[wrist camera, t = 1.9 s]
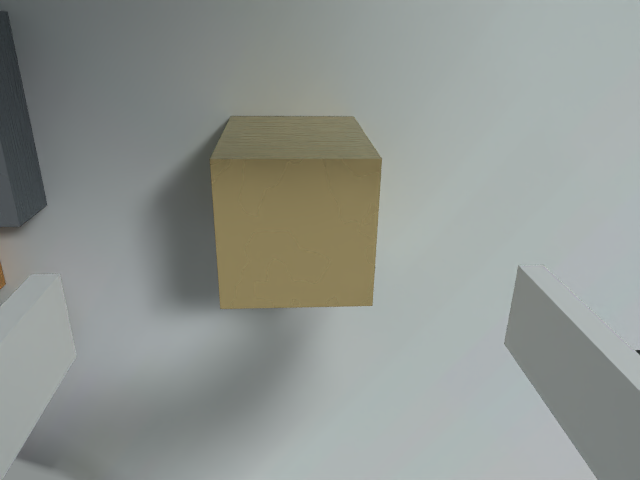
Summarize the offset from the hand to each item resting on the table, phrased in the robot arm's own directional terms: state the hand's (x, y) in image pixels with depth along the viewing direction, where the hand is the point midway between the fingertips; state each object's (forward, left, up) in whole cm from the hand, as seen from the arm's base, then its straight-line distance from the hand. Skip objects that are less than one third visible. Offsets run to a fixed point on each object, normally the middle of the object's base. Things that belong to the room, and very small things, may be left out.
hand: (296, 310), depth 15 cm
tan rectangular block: (0, 0, -13) cm, 13 cm away
